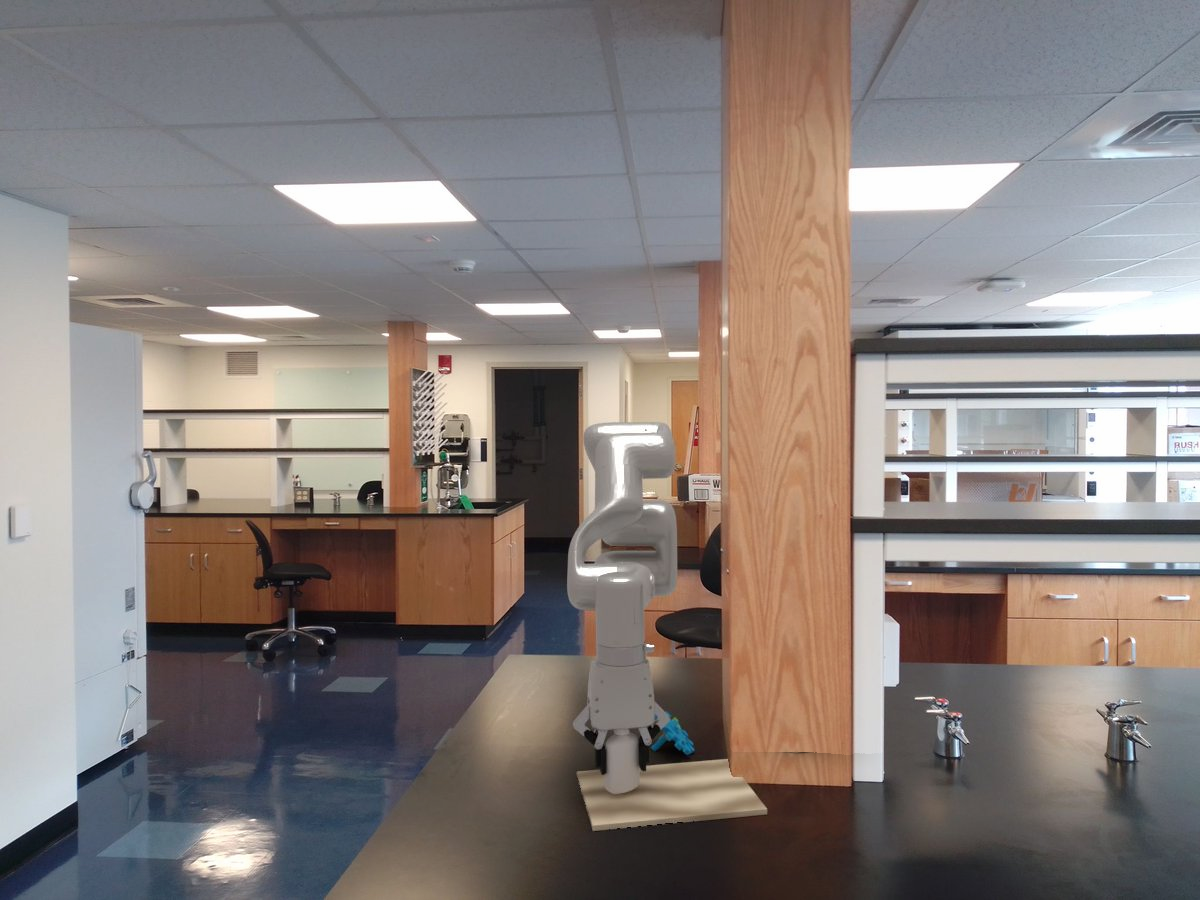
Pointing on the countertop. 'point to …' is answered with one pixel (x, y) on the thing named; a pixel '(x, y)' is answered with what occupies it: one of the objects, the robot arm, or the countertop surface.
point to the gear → (674, 736)
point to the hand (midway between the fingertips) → (622, 768)
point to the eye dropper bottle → (622, 762)
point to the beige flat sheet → (670, 796)
